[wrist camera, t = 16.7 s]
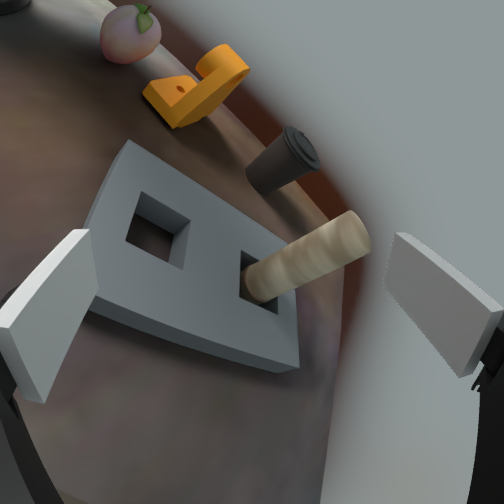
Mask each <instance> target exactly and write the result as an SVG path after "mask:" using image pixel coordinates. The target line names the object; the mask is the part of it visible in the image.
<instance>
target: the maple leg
mask: <svg viewBox="0 0 504 504" xmlns="http://www.w3.org/2000/svg"><path fill="white" fill-rule="evenodd" d="M371 251H372V245H371V241H370V238H369V235H368V233H367V230H366V228H365V227H364V225H363V224H362V222H361V220H360V219H359V217H358V216H357V215H356V214H355V213H354V212H353V211H348V212H346V213H344V214H342V215H341V216H339V217H337V218H335V219H334V220H332V221H330V222H328V223H326V224H325V225H323V226H321V227H319V228H317V229H316V230H314V231H312V232H310V233H309V234H307V235H305V236H303V237H301V238H300V239H298V240H296V241H294V242H293V243H291V244H289V245H287V246H285V247H284V248H282V249H280V250H278V251H276V252H275V253H273V254H271V255H269V256H268V257H266V258H264V259H262V260H260V261H259V262H257V263H255V264H251V265H249V266H248V267H246V268H245V269H244V270H242V271H241V272H240V285H239V297H240V298H242V299H244V300H246V301H248V302H250V303H253V304H255V305H259V304H261V303H266V302H268V301H270V300H271V299H272V298H275V297H277V296H279V295H281V294H283V293H286V292H288V291H290V290H292V289H294V288H297V287H299V286H301V285H303V284H305V283H307V282H310V281H312V280H314V279H316V278H318V277H320V276H322V275H325V274H327V273H329V272H331V271H333V270H335V269H337V268H339V267H341V266H343V265H345V264H348V263H350V262H352V261H354V260H356V259H358V258H359V257H362V256H364V255H366V254H368V253H370V252H371Z"/></svg>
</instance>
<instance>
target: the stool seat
mask: <svg viewBox="0 0 504 504" xmlns="http://www.w3.org/2000/svg"><path fill="white" fill-rule="evenodd" d="M134 213H135V214H137V215H139V216H141V217H143V218H144V219H146V220H148V221H150V222H152V223H153V224H155V225H157V226H159V227H161V228H162V229H164V230H166V231H168V232H170V233H171V234H173V235H174V236H173V240H172V246H171V251H170V256H169V261H168V263H167V262H165V261H163V260H161V259H159V258H157V257H155V256H153V255H151V254H149V253H147V252H145V251H143V250H142V249H140V248H138V247H136V246H134V245H132V244H130V243H128V242H126V241H125V239H126V236H127V233H128V230H129V226H130V223H131V220H132V217H133V214H134ZM82 229H90V235H91V243H92V250H93V256H94V263H95V269H96V275H97V280H98V286H99V289H98V291H97V293H96V295H95V297H94V299H93V300H92V302H91V304H90V306H89V308H88V310H90V311H92V312H95V313H97V314H99V315H102V316H104V317H107V318H109V319H112V320H114V321H117V322H119V323H122V324H124V325H127V326H129V327H132V328H135V329H137V330H140V331H143V332H145V333H148V334H151V335H153V336H156V337H159V338H162V339H165V340H168V341H170V342H173V343H176V344H179V345H182V346H185V347H188V348H191V349H194V350H197V351H201V352H204V353H207V354H210V355H213V356H217V357H220V358H223V359H227V360H230V361H234V362H237V363H241V364H244V365H248V366H251V367H255V368H259V369H263V370H267V371H270V372H274V373H282V372H286V371H290V370H294V369H297V368H300V366H299V347H298V329H297V313H296V298H295V288H294V289H292V290H290V291H288V292H286V293H283V294H281V295H279V296H277V297H275V298H272V299H271V300H270V301H268V302H266V303H261V304H259V305H258V306H257V305H255V304H253V303H250V302H248V301H246V300H244V299H242V298H240V297H239V285H240V271H242V270H244V269H245V268H246V267H248V266H249V265H251V264H255V263H257V262H259V261H260V260H262V259H264V258H266V257H268V256H269V255H271V254H273V253H275V252H276V251H278V250H280V249H282V248H284V247H285V246H287V245H289V244H287V243H286V242H284V241H283V240H281V239H280V238H278V237H277V236H276V235H274V234H273V233H271V232H270V231H268V230H267V229H265V228H264V227H262V226H261V225H259V224H258V223H256V222H255V221H253V220H252V219H250V218H249V217H247V216H246V215H244V214H243V213H241V212H240V211H238V210H237V209H236V208H234V207H233V206H231V205H230V204H228V203H226V202H225V201H223V200H222V199H220V198H219V197H217V196H216V195H214V194H213V193H211V192H210V191H208V190H207V189H205V188H204V187H202V186H201V185H199V184H198V183H196V182H195V181H193V180H192V179H190V178H189V177H187V176H185V175H184V174H182V173H181V172H179V171H178V170H176V169H175V168H173V167H172V166H170V165H168V164H167V163H165V162H164V161H162V160H161V159H159V158H158V157H156V156H154V155H153V154H151V153H150V152H148V151H147V150H145V149H143V148H142V147H140V146H139V145H137V144H136V143H134V142H132V141H131V140H129V139H128V140H127V142H126V143H125V144H124V146H123V147H122V149H121V150H120V151H119V153H118V154H117V155H116V157H115V158H114V160H113V162H112V164H111V166H110V168H109V170H108V172H107V174H106V176H105V179H104V181H103V183H102V185H101V187H100V189H99V191H98V193H97V196H96V198H95V200H94V202H93V205H92V207H91V209H90V211H89V214H88V216H87V219H86V221H85V223H84V226H83V228H82Z"/></svg>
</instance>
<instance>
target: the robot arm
mask: <svg viewBox="0 0 504 504" xmlns="http://www.w3.org/2000/svg"><path fill="white" fill-rule="evenodd" d="M29 1H30V0H0V15H4V14H9V13H13V12H16V11H18V10H20V9H22V8H24V7H25V6H26V5H27V4H28V3H29ZM382 286H383V287H384V288H385V289H386V291H387V292H388V293H389V294H390V295H391V296H392V297H393V299H394V300H395V301H396V302H397V303H398V304H399V305H400V307H401V308H402V309H403V310H404V311H405V312H406V314H407V315H408V316H409V317H410V318H411V319H412V321H413V322H414V323H415V324H416V325H417V327H418V328H419V329H420V330H421V331H422V333H423V334H424V335H425V336H426V337H427V339H428V340H429V341H430V342H431V344H432V345H433V346H434V347H435V348H436V350H437V351H438V352H439V353H440V355H441V356H442V357H443V358H444V359H445V361H446V362H447V364H448V365H449V366H450V367H451V369H452V370H453V371H454V373H455V374H456V375H457V376H458V378H461V377H464V376H467V375H470V374H473V372H474V370H475V368H476V367H477V365H478V363H479V361H482V363H483V364H484V367H483V369H482V370H481V372H480V374H479V376H478V377H477V379H476V381H475V382H474V384H473V385H472V388H471V390H474V389H475V387H476V386H477V385H480V387H479V388H478V390H477V392H480V407H479V424H478V436H477V445H476V454H475V462H474V468H473V474H472V480H471V486H470V491H469V496H468V500H467V504H504V308H502V307H501V306H500V305H499V304H498V303H497V302H496V301H494V300H493V299H492V298H491V297H490V296H489V295H487V294H486V293H485V292H484V291H483V290H481V289H480V288H479V287H478V286H477V285H475V284H474V283H473V282H472V281H471V280H469V279H468V278H467V277H466V276H464V275H463V274H462V273H460V272H459V271H458V270H457V269H455V268H454V267H453V266H452V265H450V264H449V263H448V262H447V261H445V260H444V259H443V258H441V257H440V256H439V255H437V254H436V253H435V252H433V251H432V250H431V249H429V248H428V247H427V246H425V245H424V244H423V243H421V242H420V241H418V240H417V239H415V238H414V237H413V236H411V235H410V234H409V233H397V232H395V234H394V238H393V243H392V247H391V252H390V256H389V260H388V264H387V268H386V272H385V276H384V280H383V284H382ZM98 289H99V286H98V280H97V275H96V269H95V263H94V256H93V250H92V243H91V235H90V229H74V230H72V231H71V232H70V233H69V234H68V235H67V236H66V237H65V238H64V239H63V240H62V241H61V242H60V243H59V244H58V245H57V246H56V247H55V248H54V249H53V250H52V251H51V253H50V254H49V255H48V256H47V257H46V258H45V259H44V260H43V261H42V262H41V263H40V264H39V265H38V266H37V267H36V268H35V270H34V271H33V272H32V273H31V274H30V275H29V276H28V277H27V278H26V279H25V281H24V282H23V283H22V284H21V285H18V286H17V287H15V288H14V289H12V290H11V291H9V292H8V293H7V294H6V295H5V297H4V298H3V299H2V300H1V302H0V504H64V503H63V501H62V499H61V497H60V496H59V494H58V493H57V490H56V489H55V487H54V485H53V483H52V481H51V479H50V478H49V476H48V474H47V472H46V470H45V468H44V466H43V464H42V462H41V460H40V458H39V456H38V453H37V451H36V449H35V447H34V445H33V442H32V440H31V438H30V435H29V433H28V431H27V428H26V426H25V423H24V421H23V418H22V415H21V413H20V410H19V407H18V404H17V402H16V400H15V399H14V397H13V393H14V391H15V389H16V387H18V389H19V391H20V393H21V394H22V396H23V398H24V399H25V400H29V401H34V402H38V403H43V404H45V402H46V399H47V397H48V394H49V392H50V389H51V387H52V384H53V382H54V380H55V377H56V375H57V373H58V371H59V368H60V366H61V364H62V362H63V359H64V357H65V355H66V353H67V351H68V349H69V346H70V344H71V342H72V340H73V338H74V336H75V334H76V332H77V330H78V328H79V326H80V324H81V322H82V320H83V318H84V316H85V314H86V312H87V310H88V308H89V306H90V304H91V302H92V300H93V299H94V297H95V295H96V293H97V291H98Z"/></svg>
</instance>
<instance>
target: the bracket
mask: <svg viewBox="0 0 504 504" xmlns="http://www.w3.org/2000/svg"><path fill="white" fill-rule="evenodd" d="M196 70H197V71H198V72H199V73H200V75H201V76H202V77H203V78H204V79H203V80H202V81H201V82H200V83H199V84H197V83H196V82H195V81H194V80H193V79H192V78H191V77H190V76H187V75H184V76H177V77H170V78H163V79H157V80H152V81H151V82H150V83H149V84H148V85H147V87H146V88H145V89H144V90H143V95H144V96H145V97H146V99H147V100H148V101H149V102H150V103H151V104H152V105H153V107H154V108H155V109H156V110H157V111H158V112H159V114H160V115H161V116H162V117H163V118H164V119H165V120H166V122H167V123H168V124H169V125H170V126H171V127H172V129H174V128H176V127H179V128H182V127H184V126H186V125H189V124H191V123H194V122H196V121H199V120H200V119H201V118H202V117H204V116H207V115H210V114H211V113H212V112H213V111H214V110H215V109H216V108H217V107H218V106H219V105H220V104H221V103H222V102H223V100H224V99H225V98H226V97H227V96H228V95H229V94H230V93H231V92H232V90H233V89H234V88H235V87H236V86H237V85H238V84H239V83H240V82H241V81H242V80H243V79H244V78H245V76H247V74H248V73H249V72H250V68H249V67H248V66H247V65H246V64H245V63H244V61H243V60H242V59H241V58H240V57H239V56H238V55H237V54H236V53H235V52H234V51H233V50H232V49H231V48H230V47H229V46H228V45H227V44H223V45H220V46H218V47H216V48H214V49H212V50H211V51H210V52H208V53H207V54H206V55H205V56H204V57H203V58H202V59H201V60H200V61H199V62H198V64H197V66H196Z"/></svg>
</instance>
